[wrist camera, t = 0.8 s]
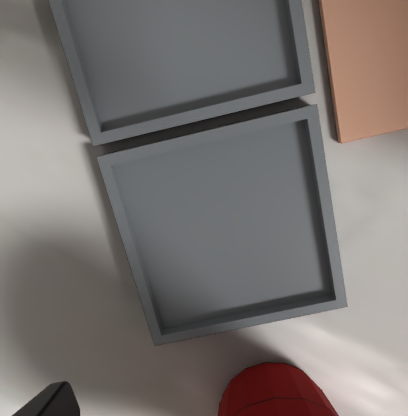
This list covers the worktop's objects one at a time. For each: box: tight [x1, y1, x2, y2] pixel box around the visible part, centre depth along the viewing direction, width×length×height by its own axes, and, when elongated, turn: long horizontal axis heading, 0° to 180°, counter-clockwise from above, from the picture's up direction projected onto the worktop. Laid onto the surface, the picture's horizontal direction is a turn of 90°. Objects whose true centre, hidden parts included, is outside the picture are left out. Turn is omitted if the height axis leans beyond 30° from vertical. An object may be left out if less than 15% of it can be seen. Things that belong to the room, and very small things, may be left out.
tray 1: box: [48, 0, 315, 146], centre depth 15 cm, size 10×10×1 cm
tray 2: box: [97, 104, 348, 346], centre depth 18 cm, size 10×10×1 cm
